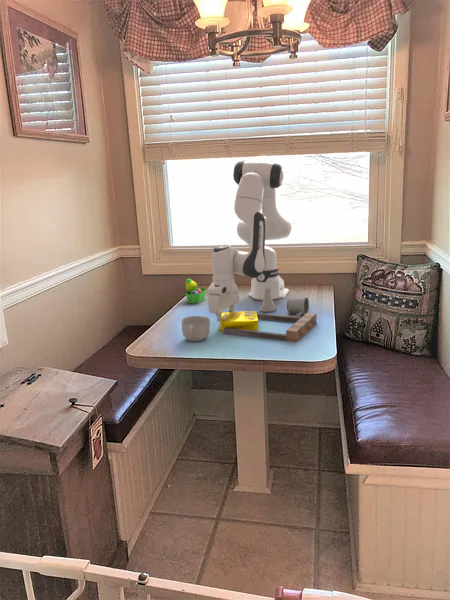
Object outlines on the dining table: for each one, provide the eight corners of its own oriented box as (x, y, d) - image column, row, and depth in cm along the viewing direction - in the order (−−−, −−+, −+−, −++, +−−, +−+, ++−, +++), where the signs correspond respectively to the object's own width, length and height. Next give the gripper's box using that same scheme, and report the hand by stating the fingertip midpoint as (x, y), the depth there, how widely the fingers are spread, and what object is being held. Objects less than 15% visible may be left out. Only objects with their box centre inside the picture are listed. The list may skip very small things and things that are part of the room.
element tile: (221, 321, 217) (220, 311, 216) (256, 320, 217) (256, 309, 215) (220, 333, 202) (219, 321, 201) (258, 331, 202) (258, 319, 201)
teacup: (190, 333, 203) (188, 314, 201) (215, 335, 199) (214, 315, 197) (174, 345, 191) (172, 324, 189) (200, 347, 187) (199, 326, 185)
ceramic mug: (291, 311, 226) (290, 294, 224) (309, 312, 223) (309, 295, 221) (283, 318, 217) (283, 300, 215) (302, 319, 214) (302, 301, 212)
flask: (275, 312, 225) (274, 290, 223) (259, 312, 227) (258, 290, 224) (277, 308, 232) (276, 286, 230) (261, 308, 234) (260, 286, 231)
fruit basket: (200, 304, 246) (198, 281, 243) (183, 303, 248) (181, 281, 245) (207, 298, 257) (206, 276, 254) (190, 297, 259) (189, 276, 256)
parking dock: (248, 316, 221) (248, 308, 220) (316, 323, 207) (316, 313, 206) (223, 333, 201) (223, 324, 200) (296, 342, 187) (296, 331, 186)
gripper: (228, 279, 219) (230, 310, 223) (204, 290, 202) (206, 324, 205) (241, 280, 216) (243, 311, 220) (218, 291, 199) (220, 325, 202)
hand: (225, 317), depth 212 cm, fingers open, 8 cm apart
